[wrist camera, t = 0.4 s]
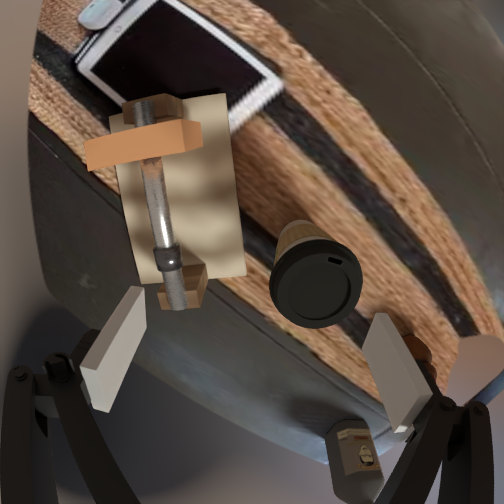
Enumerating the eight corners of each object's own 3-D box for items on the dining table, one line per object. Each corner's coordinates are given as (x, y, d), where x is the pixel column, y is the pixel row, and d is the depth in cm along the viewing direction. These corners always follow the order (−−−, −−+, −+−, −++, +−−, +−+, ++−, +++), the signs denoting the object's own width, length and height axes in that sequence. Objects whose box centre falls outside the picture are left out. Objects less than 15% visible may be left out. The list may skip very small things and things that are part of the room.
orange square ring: (123, 136, 35) (83, 141, 25) (200, 122, 34) (180, 119, 25) (126, 159, 36) (88, 171, 26) (203, 146, 35) (185, 152, 26)
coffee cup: (256, 261, 45) (256, 321, 31) (278, 197, 41) (290, 232, 28) (318, 280, 46) (342, 341, 32) (344, 219, 43) (383, 263, 29)
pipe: (134, 106, 30) (123, 105, 27) (161, 100, 30) (152, 98, 27) (170, 299, 39) (164, 312, 36) (194, 297, 39) (189, 311, 36)
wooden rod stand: (112, 116, 37) (80, 115, 29) (225, 94, 36) (217, 84, 28) (143, 280, 46) (123, 311, 38) (246, 271, 46) (244, 304, 37)
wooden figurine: (398, 361, 53) (426, 418, 39) (382, 349, 51) (410, 409, 37) (424, 338, 51) (458, 392, 37) (409, 324, 49) (445, 380, 35)
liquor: (353, 441, 63) (377, 545, 35) (320, 439, 62) (337, 551, 34) (372, 419, 59) (405, 531, 32) (338, 417, 59) (363, 539, 31)
